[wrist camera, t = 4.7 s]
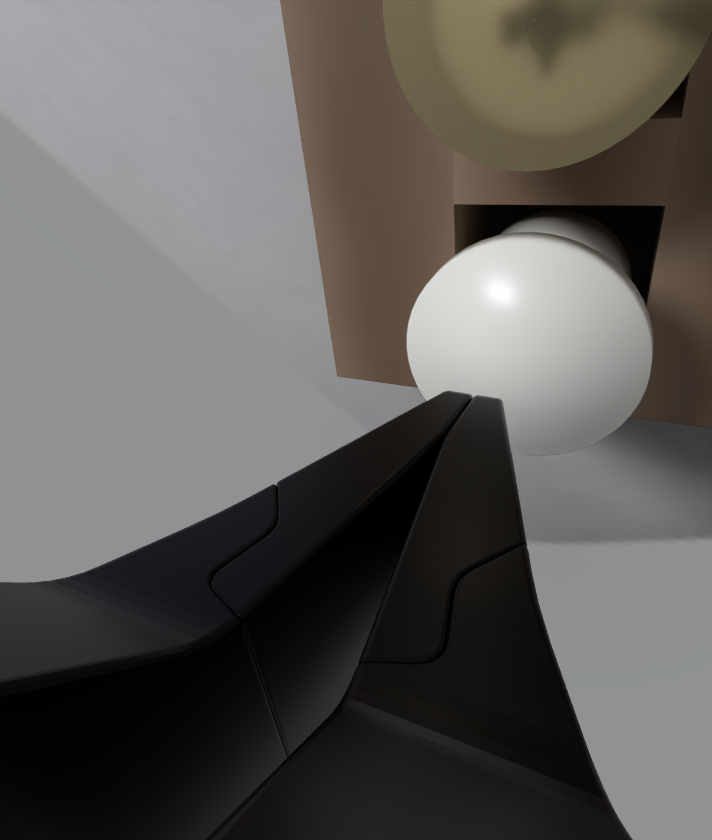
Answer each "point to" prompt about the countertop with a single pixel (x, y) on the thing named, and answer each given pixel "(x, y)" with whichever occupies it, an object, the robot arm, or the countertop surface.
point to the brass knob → (541, 71)
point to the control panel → (482, 203)
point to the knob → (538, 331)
